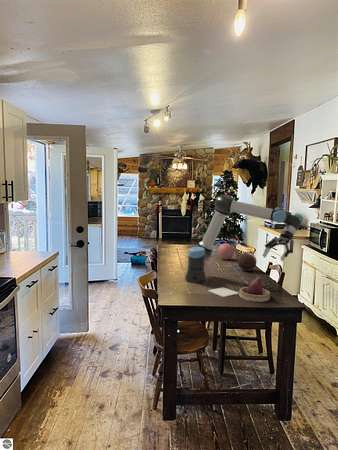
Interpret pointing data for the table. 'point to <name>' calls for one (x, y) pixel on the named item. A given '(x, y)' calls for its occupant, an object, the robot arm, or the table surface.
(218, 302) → the table surface
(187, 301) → the table surface
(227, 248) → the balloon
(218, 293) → the white mat
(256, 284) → the vegetable
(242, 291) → the segmented wooden ring
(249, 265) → the wooden sphere
